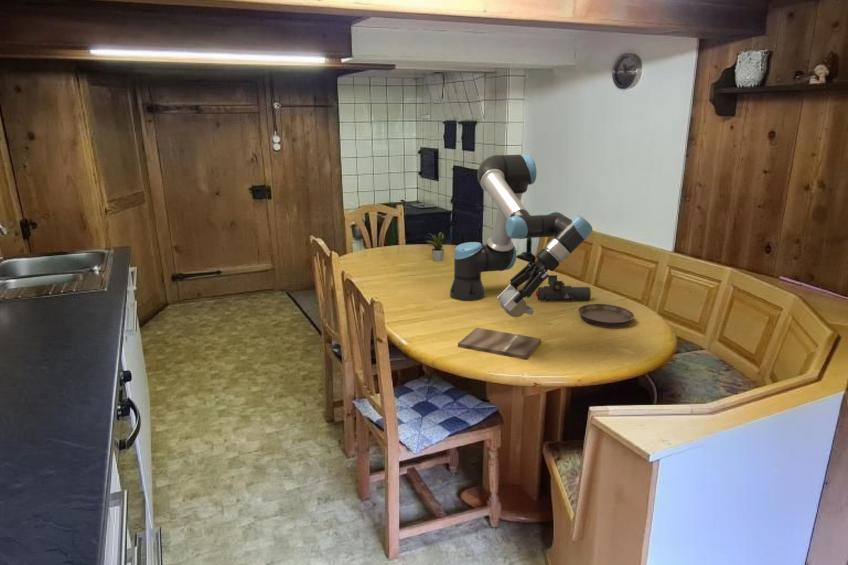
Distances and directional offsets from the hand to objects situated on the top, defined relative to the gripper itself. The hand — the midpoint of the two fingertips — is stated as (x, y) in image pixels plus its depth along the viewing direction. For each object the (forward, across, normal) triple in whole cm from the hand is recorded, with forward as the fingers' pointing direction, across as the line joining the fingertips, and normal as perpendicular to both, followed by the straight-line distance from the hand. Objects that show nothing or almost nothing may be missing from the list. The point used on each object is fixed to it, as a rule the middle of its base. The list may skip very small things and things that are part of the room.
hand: (503, 304), depth 183 cm
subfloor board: (+11, +2, -11) cm, 15 cm away
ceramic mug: (-1, 0, -6) cm, 6 cm away
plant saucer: (-22, +21, -44) cm, 54 cm away
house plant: (+12, +129, -10) cm, 130 cm away
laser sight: (-17, +47, -39) cm, 64 cm away
